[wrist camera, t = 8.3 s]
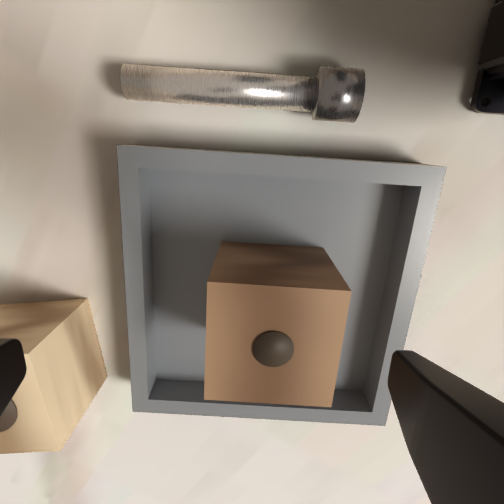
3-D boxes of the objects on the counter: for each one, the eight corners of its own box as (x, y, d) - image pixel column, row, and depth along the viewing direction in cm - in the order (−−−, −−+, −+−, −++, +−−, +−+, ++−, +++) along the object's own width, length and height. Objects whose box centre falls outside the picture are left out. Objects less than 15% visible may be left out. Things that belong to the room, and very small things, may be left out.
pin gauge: (353, 74, 17) (368, 63, 15) (346, 123, 18) (360, 121, 16) (130, 59, 17) (111, 46, 15) (132, 109, 18) (115, 104, 16)
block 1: (88, 297, 22) (27, 354, 16) (108, 375, 23) (59, 452, 18) (-3, 303, 22) (-96, 362, 16) (24, 380, 24) (-51, 458, 18)
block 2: (323, 247, 20) (352, 292, 14) (311, 336, 21) (331, 408, 16) (221, 241, 20) (206, 282, 14) (217, 331, 21) (203, 401, 16)
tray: (422, 163, 19) (446, 167, 16) (372, 397, 24) (385, 425, 21) (134, 144, 18) (116, 145, 16) (144, 384, 23) (132, 411, 21)
